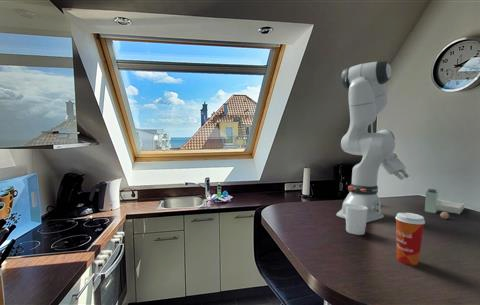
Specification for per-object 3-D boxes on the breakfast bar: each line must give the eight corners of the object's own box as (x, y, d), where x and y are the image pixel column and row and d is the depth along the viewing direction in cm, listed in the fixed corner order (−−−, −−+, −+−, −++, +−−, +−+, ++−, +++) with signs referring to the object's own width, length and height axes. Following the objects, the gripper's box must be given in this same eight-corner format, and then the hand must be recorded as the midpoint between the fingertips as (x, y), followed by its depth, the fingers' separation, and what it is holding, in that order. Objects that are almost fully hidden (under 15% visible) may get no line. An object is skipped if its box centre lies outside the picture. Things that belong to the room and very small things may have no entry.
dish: (459, 214, 134) (460, 208, 133) (430, 209, 142) (431, 203, 142) (463, 209, 143) (464, 203, 143) (436, 204, 152) (436, 199, 152)
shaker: (435, 213, 135) (436, 190, 134) (424, 211, 138) (426, 189, 137) (437, 211, 138) (438, 189, 137) (426, 209, 141) (428, 188, 140)
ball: (448, 220, 124) (448, 213, 123) (439, 218, 126) (439, 211, 126) (449, 218, 126) (449, 212, 126) (440, 217, 128) (441, 210, 128)
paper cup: (387, 255, 86) (389, 211, 85) (410, 255, 86) (413, 211, 85) (404, 267, 78) (407, 219, 77) (429, 267, 79) (432, 219, 78)
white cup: (365, 230, 109) (366, 205, 108) (367, 236, 101) (369, 210, 100) (344, 227, 111) (345, 203, 110) (344, 234, 104) (346, 208, 103)
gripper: (384, 155, 143) (404, 176, 136) (396, 154, 157) (415, 172, 151) (375, 163, 146) (394, 183, 140) (387, 161, 160) (405, 179, 154)
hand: (405, 178), depth 145 cm, fingers open, 8 cm apart
